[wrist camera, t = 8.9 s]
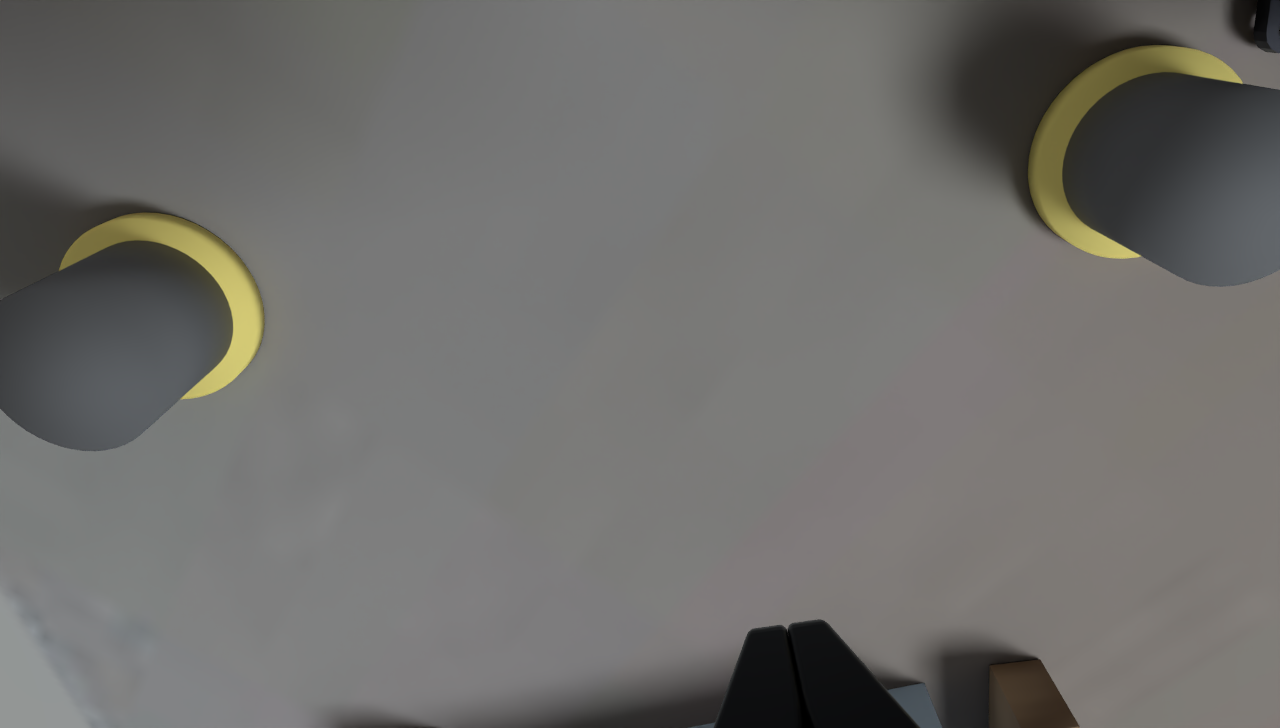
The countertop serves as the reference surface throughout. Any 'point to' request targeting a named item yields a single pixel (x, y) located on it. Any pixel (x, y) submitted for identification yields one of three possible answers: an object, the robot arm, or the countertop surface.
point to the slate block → (906, 706)
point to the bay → (1026, 698)
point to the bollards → (1057, 175)
